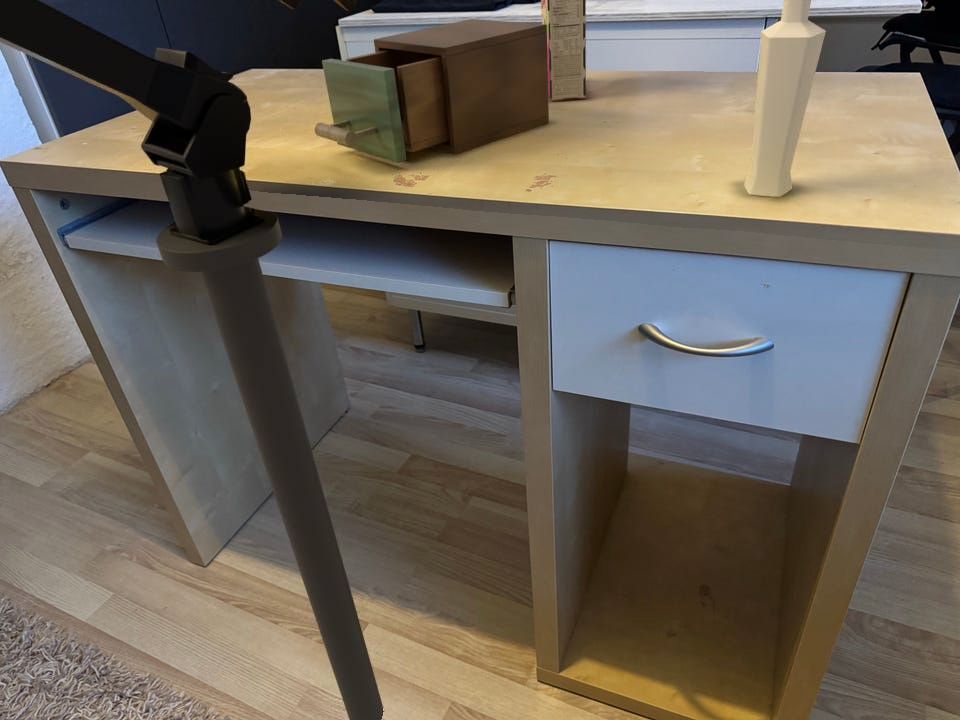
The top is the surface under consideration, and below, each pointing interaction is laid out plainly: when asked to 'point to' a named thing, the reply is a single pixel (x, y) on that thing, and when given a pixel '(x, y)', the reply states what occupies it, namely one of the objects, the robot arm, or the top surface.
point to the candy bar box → (565, 48)
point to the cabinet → (485, 77)
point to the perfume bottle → (782, 96)
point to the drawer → (386, 103)
